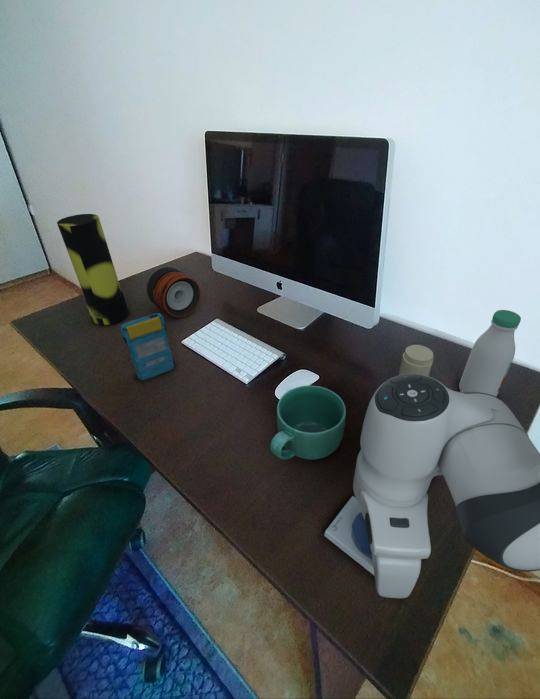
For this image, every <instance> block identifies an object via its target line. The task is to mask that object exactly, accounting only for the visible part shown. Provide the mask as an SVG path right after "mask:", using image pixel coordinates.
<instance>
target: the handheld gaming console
mask: <svg viewBox="0 0 540 699" xmlns="http://www.w3.org/2000/svg"><path fill="white" fill-rule="evenodd" d="M119 329H120V333H121V336H122V338H123V341H124V343H125V344H126V346H127V349H128V352H129V355H130V359H131V361H132V364H133V367H134V371H135V373H136V376H137V378H138V379H139V380H141V381H147V380H149V379H152V378H155V377H157V376H160V375H162V374H165V373H167V372H170V371H172V370H174V368H175V364H174V358H173V355H172V350H171V348H170V343H169V338H168V335H167V325H166V322H165V319H164V316H163V315H162V314H161V312H158V313H157V312H155V313H153V314H149V315H146V316H143V317H140V318H137V319H134V320H129V321H127V322H123V324H120V328H119Z"/></svg>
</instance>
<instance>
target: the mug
mask: <svg viewBox="0 0 540 699" xmlns="http://www.w3.org/2000/svg"><path fill="white" fill-rule="evenodd" d="M276 406H277V407H276V427H277V433H276V434H275V435H274V436H273V438H272V439H271V441H270V445H269V450H270V452H271V453H272V455H274V456H275V457H276V458H279V459H280V460H283V461H286V460H290V459H291V458H293V457H297V458H300V459H303V460H310V461H311V460H321V459H323V458H326V457H328V456H330V455H332V453H334V452H335V451H336V450H337V449H338V447H339V446H340V444H341V442H342V441H343V437H344V432H345V426H346V418H347V417H346V416H347V409H346V408H347V407H346V405H345V403H344V401H343V399H342V398H341V397H340V396H339V394H337V392H334V391H332V390H330V389H328V388H326V387H323V386H318V385H302V386H297V387H293V388H291V389H289V390H288V391H287V392H285V393H284V394H283V395H281V397H280V398H279V400H278V403H277V405H276Z"/></svg>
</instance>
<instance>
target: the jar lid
mask: <svg viewBox="0 0 540 699" xmlns="http://www.w3.org/2000/svg"><path fill="white" fill-rule="evenodd" d="M352 538H353V541H354V544H355V545H356V547H357V548H358V550H359V551H360V552H361V553H363V554H364V555H365V556H367V557H369V558H372V553H371V548H370V543H369V539H368V534H367V529H366V525H365V520H364V517H363V515H362V512H361V513H359V514H358V515H357V516H356V517H355V519H354V521H353V524H352Z"/></svg>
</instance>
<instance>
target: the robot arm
mask: <svg viewBox="0 0 540 699" xmlns="http://www.w3.org/2000/svg"><path fill="white" fill-rule="evenodd" d="M359 444H360V450H359V452H358V454H357V457H356V463H355V469H354V474H353V475H354V476H353V481H352V489H353V494H354V497H355V498H356V499H357V501H358V503H359V506H360V509H361V512H362V515H363V517H364V520H365V525H366V529H367V534H368V539H369V543H370V548H371V553H372V560H373V568H374V575H375V576H374V575H373V576H374V583H375V590H376V592H377V594H378V596H380V597H383V598H387V599H388V598H389V599H406V598H408V597H409V596H410V595H411V593H412V592H413V590H414V588H415V586H416V584H417V583H418V582H417V581H418V579H419V576H420V574H421V568H422V560H425V559H429V558H430V555H431V553H432V544H431V536H430V527H429V518H428V503H429V495H428V491H429V489H430V488H429V487H430V485H431V482H432V480H433V478H435V477H438V476H443V478H444V481H445V483H446V485H447V488H448V490H449V493H450V495H451V498H452V500H453V503H454V505H455V511H456V515H457V518H458V523H459V525H460V528H461V532H462V534H463V538H464V540H465V542H466V544H468V545H470V546H471V547H472V548H473V549H475V550H476V551H477V552H478V553H480V554H481V555H482V556H484V557H486V558H488V559H489V560H490V561H492V562H494V563H496V564H497V565H499V566H502V567H504V568H506V569H507V570H511V571H513V572H521V573H529V572H537V571H540V451H539V450H538V449H537V447H536V446H535V444H534V443H533V441H532V440H531V439H530V435H529V434H528V433H527V432H526V430H525V428H524V427H523V426H522V424H521V422H520V421H519V420H518V418H517V417H516V416H515V414H514V413H513V411H512V410H511V409H510V408H509V406H508V405H507V404H506V403H505V401H504V400H502V399H501V398H499V397H497V396H493V395H490V394H486V393H480V392H461V391H456V390H452V389H450V388H448V387H447V386H446V385H444V384H443V383H442V382H441V381H439V380H437V379H435V378H433V377H432V376H429V377H428V376H425V375H419V374H403V375H398V374H397V375H395V376H393V377H390V378H389V379H387V380H386V381H384V382H382V383H381V385H380V386H379V387H378V388H376V390H375V392H374V393H373V395H372V397H371V399H370V400H369V404H368V406H367V408H366V411H365V416H364V419H363V424H362V429H361V433H360V441H359Z"/></svg>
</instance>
